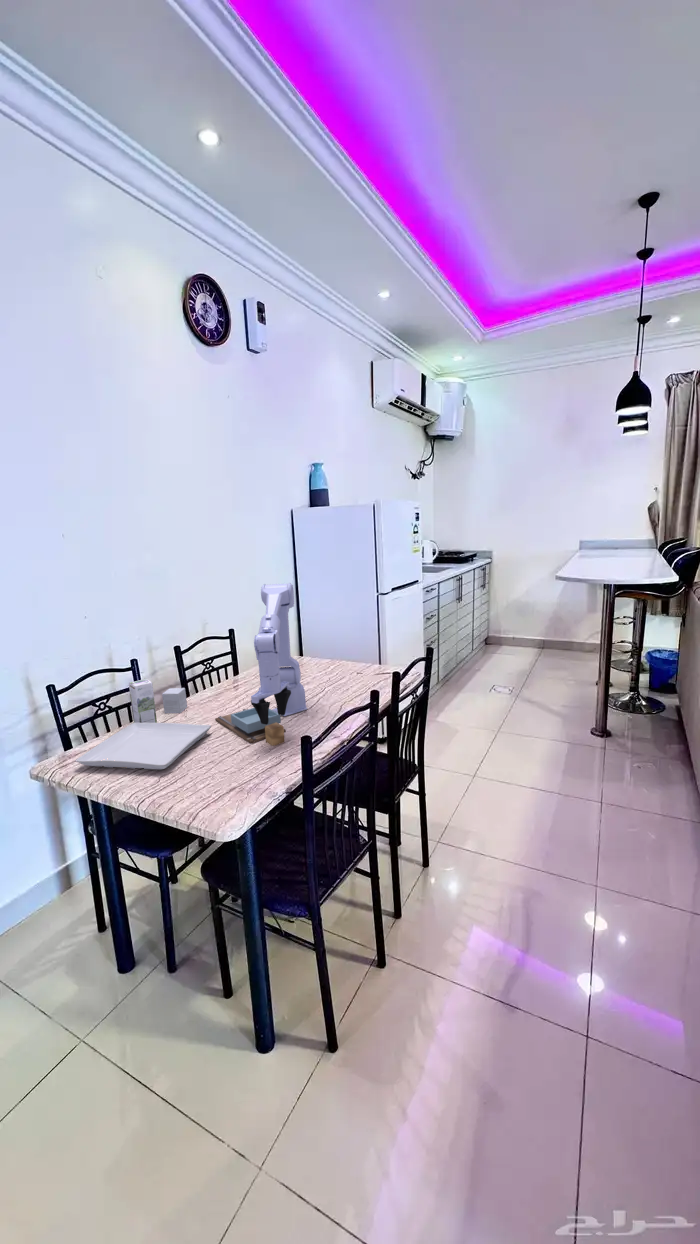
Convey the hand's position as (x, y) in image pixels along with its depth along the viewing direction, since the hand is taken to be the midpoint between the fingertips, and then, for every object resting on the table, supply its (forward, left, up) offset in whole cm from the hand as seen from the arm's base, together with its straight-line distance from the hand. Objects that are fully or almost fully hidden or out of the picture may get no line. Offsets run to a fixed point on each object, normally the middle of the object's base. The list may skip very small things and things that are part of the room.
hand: (273, 718), depth 148 cm
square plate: (+30, -21, -8) cm, 37 cm away
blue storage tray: (0, -12, -6) cm, 13 cm away
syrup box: (+24, -44, -7) cm, 51 cm away
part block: (0, 0, -7) cm, 7 cm away
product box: (+12, -49, -8) cm, 51 cm away
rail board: (0, -17, -7) cm, 18 cm away
